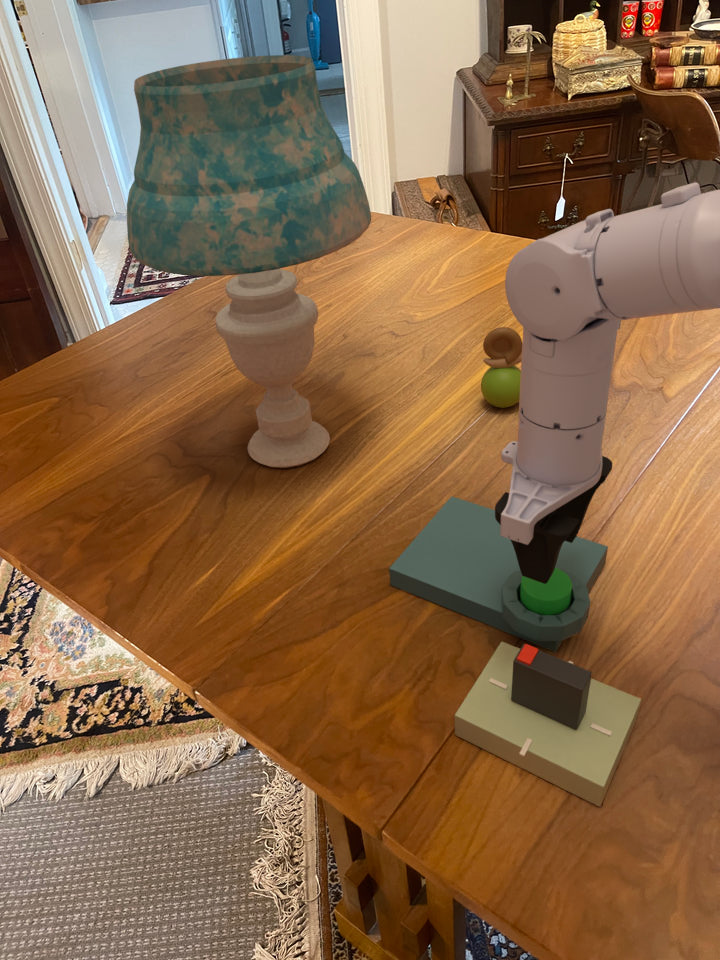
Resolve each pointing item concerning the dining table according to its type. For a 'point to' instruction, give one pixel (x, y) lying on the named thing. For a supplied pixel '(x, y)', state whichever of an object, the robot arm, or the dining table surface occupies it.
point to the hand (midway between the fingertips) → (548, 556)
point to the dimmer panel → (548, 730)
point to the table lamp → (248, 216)
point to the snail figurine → (502, 367)
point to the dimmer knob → (550, 686)
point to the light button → (547, 593)
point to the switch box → (492, 574)
